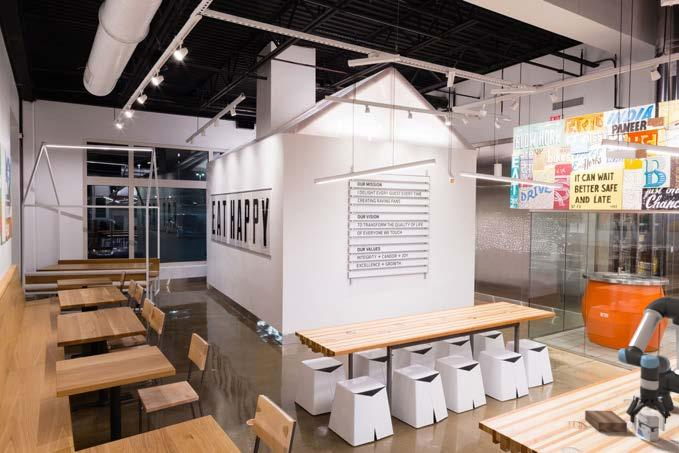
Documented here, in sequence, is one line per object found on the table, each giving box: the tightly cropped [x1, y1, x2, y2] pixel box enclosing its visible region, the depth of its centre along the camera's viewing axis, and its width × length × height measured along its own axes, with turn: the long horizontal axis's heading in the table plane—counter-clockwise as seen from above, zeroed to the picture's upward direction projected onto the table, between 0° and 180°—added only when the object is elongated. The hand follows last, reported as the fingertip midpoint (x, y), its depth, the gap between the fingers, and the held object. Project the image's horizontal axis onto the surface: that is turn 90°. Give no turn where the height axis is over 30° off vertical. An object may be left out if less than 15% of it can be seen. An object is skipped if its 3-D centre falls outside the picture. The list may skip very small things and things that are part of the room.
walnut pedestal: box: [584, 410, 628, 433], centre depth 241 cm, size 14×14×5 cm
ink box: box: [637, 409, 660, 442], centre depth 230 cm, size 8×5×12 cm, turn 5°
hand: (647, 429), depth 230 cm, fingers open, 13 cm apart
